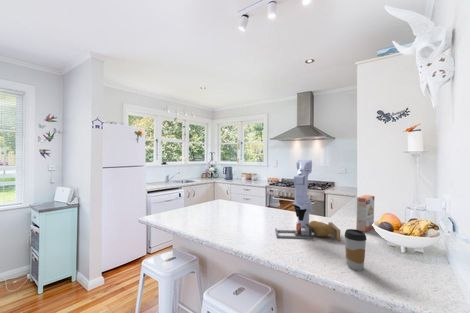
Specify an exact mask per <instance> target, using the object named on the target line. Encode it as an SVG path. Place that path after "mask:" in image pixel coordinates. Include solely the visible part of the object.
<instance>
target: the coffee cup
mask: <svg viewBox="0 0 470 313" xmlns="http://www.w3.org/2000/svg"><path fill="white" fill-rule="evenodd" d="M343 236H344V241H345V242H344V243H345V247H344V248H345V249H344V250H345V259H346V265H347V267H348V268H349V269H351V270H353V271H362V270H363V269H364V266H365V256H366V242H367V235H366V232H363V231H360V230H356V229H355V228H349V229H348V228H347V229H346V230H345V232H344V235H343Z"/></svg>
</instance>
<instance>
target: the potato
mask: <svg viewBox="0 0 470 313" xmlns="http://www.w3.org/2000/svg"><path fill="white" fill-rule="evenodd" d="M309 226H310V227H311V228H312V234H313V235H315V236H317V237H321V238H323V237H329V236H331V234H332V233H333V228H332V227H331V226H330V225H328V224H327V223H324V222H321V221H317V220H311V221H309Z"/></svg>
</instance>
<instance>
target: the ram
mask: <svg viewBox="0 0 470 313" xmlns="http://www.w3.org/2000/svg"><path fill="white" fill-rule="evenodd" d="M295 224H296V226H295V230H296V231H294V233H293V234H294V236H312V237H313V232H312V228H311V227H310V226H309V224H306V227H305V230H302V227H301V223H296V222H295Z"/></svg>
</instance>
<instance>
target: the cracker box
mask: <svg viewBox="0 0 470 313" xmlns="http://www.w3.org/2000/svg"><path fill="white" fill-rule="evenodd" d="M374 218H375V196H374V195H370V194H365V195H360V196H357V197H356V230H360V231H363V232H364V233H366V232H369V231H370V230H372V229H373V226H372V224H373V223H374V224H375V220H374Z"/></svg>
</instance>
